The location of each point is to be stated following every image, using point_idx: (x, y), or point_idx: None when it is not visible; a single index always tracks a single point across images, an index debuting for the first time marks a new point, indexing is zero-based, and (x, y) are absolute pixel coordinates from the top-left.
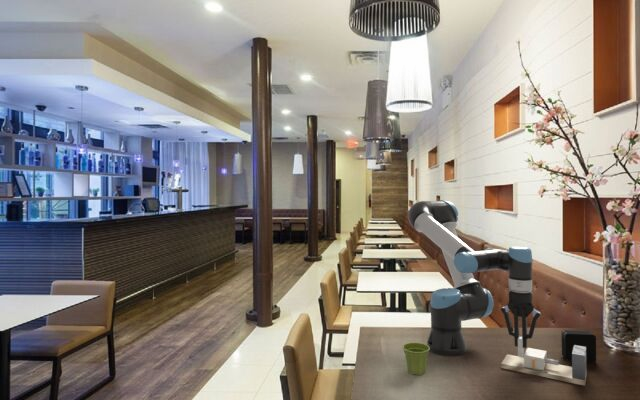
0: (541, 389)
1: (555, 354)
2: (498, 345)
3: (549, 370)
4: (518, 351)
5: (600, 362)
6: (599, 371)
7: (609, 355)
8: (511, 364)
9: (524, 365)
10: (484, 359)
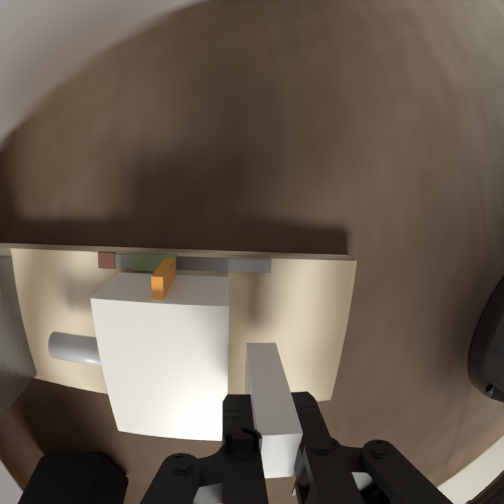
0: (126, 81)
1: None
2: None
3: None
4: (277, 363)
5: (36, 454)
6: None
7: None
8: (303, 278)
9: (226, 279)
10: (418, 315)
